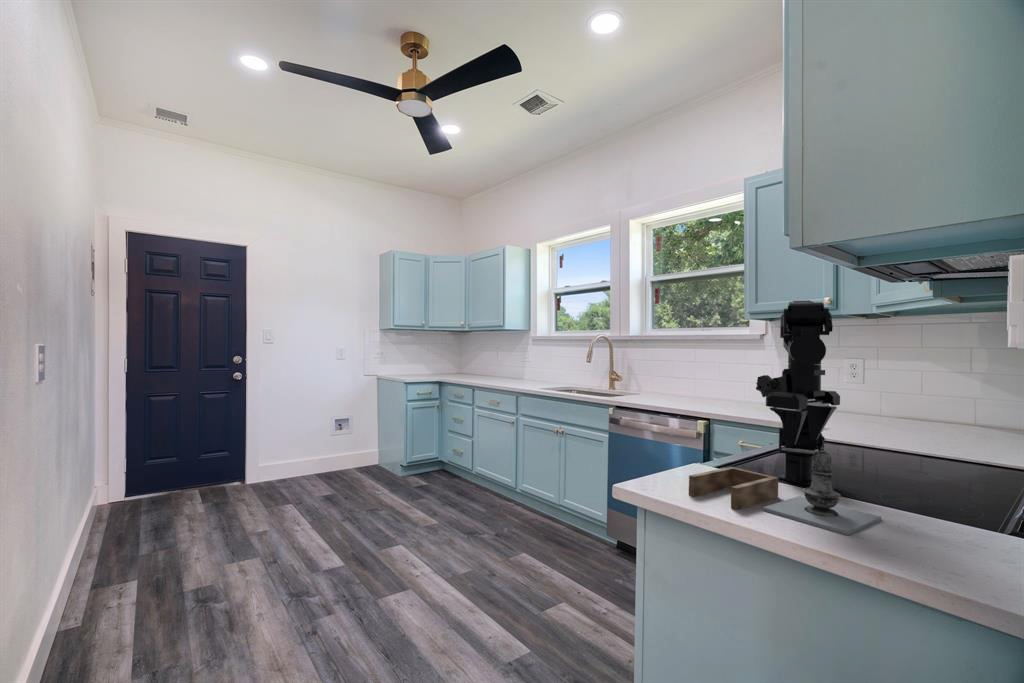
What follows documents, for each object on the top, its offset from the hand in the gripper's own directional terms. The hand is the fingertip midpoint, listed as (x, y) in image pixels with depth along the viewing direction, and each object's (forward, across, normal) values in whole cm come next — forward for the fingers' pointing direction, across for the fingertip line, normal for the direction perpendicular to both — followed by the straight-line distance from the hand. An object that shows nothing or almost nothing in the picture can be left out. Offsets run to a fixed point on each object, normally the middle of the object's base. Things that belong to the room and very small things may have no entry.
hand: (803, 441), depth 96 cm
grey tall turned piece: (+12, +6, +6) cm, 14 cm away
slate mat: (+12, +6, +6) cm, 15 cm away
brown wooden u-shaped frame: (+12, +10, -9) cm, 18 cm away
